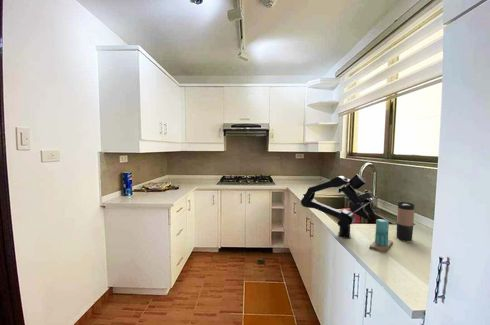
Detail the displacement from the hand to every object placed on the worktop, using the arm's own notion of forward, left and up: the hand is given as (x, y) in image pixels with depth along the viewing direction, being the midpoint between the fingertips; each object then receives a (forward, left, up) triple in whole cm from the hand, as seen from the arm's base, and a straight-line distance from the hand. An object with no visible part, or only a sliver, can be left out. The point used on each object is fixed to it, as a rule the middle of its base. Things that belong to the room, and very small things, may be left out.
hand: (372, 218), depth 123 cm
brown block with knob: (+2, +4, -14) cm, 14 cm away
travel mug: (-13, +18, -14) cm, 26 cm away
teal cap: (+2, +4, -12) cm, 13 cm away
